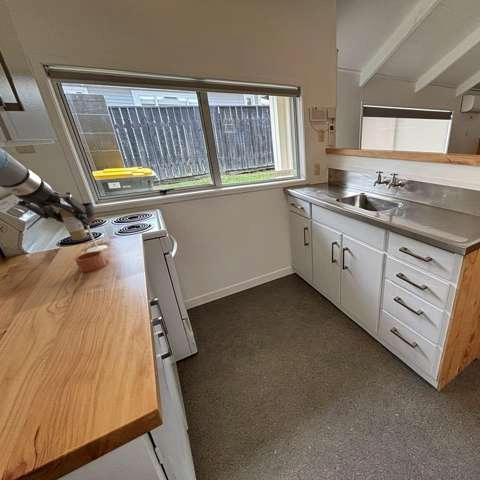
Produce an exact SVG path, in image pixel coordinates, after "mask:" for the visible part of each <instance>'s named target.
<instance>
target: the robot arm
mask: <svg viewBox="0 0 480 480" xmlns="http://www.w3.org/2000/svg"><path fill="white" fill-rule="evenodd" d="M0 187H1V188H2V189H4V190H6V191H7V192H9V193H10V194H11V195H13V196H15V197H17V198H18V200H17V205H18V206H20V207H22V208H25V209H28V210H29V211H31V212H33V213H34V214H36V215H38V216H40V217H42V218H43V219H46V220H47V219H49V218H51V219H52V220H53V219H55V220H56V221H58V222H60V223H62V224H64V221H63V219H62V217H61V214H60V212H59V211H58V210H57V208H59V207H60V208H62V209H64V210H66V211H68V212H70V213H72V214H74V215H75V218H77V219H78V220H80V221H81V222H83V223H84V224H85V225H84V226H86V225H89V226H90V224H89V220H90V219H89V218H88V217H87V215H86V214H85V209H86V208H85V207H84V206H83V205H82V204H83V203H81V202H80V201H78V200H77V199H76V198H75V197H74V196H73V193H71V192H66V193H65V194H64V193H60V192H58V191H56V190H54V189H53V188H52V187H51V186H50V185H49V184H48V183H47V182H46V181H44V180H43V179H42V178H40V177H39V176H38V175H37V174H35V173H34V172H33V171H31V170H30V169H29V168H27V166H24V165H23V164H21V163H20V162H19V161H18V160H17V159H16V158H15V157H13V156H12V155H10V154H9V153H8V152H7V151H6V150H5V149H3V148H2V147H0ZM56 207H57V208H56Z"/></svg>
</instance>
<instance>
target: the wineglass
mask: <svg viewBox="0 0 480 480" xmlns="http://www.w3.org/2000/svg"><path fill="white" fill-rule="evenodd" d="M81 204H82V205H83V206H84V207H85V208H86V209H85V214H86V215H87V217H88V218H89V219H90V220H89V225H85V224H84V223H83V222H82V224H83V226H86V228H87V231H88V233H89V236H90V238H91V240H92V243H93V245H94V247H93V246H92V247H90V248H88V249H87V250H86V253H89V252H94V251H100V252H101V251H103V250H105V249H107V248H108V245H106V244H103V245H98V244H97V242H96V239H95V237H94V235H93V233H92V231H91V228H90V224H92V223H93V222H94V221H95V219H96V213H95V209H94V206H93V203H91V202H84V203H81Z"/></svg>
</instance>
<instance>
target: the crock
mask: <svg viewBox="0 0 480 480" xmlns="http://www.w3.org/2000/svg"><path fill="white" fill-rule="evenodd" d="M74 261H75V263H76V266H77V268H78V270H79V272H80V273H90V272H95V271H98V270H101V269H102V268H104V267H105V266H106V265H107V262H106V260H105V257H104V255H103V252H102V251H101V250H100V251H94V252H85V253H82V254H79V255H78V256H76V257H75V258H74Z"/></svg>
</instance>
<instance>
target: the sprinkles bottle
mask: <svg viewBox="0 0 480 480" xmlns="http://www.w3.org/2000/svg"><path fill="white" fill-rule="evenodd" d="M55 209H56V210H57V211H58V212H60V214H61V217H62V219H63V221H64V223H63V224H64V226H65V229H66V230H67V232H68V234H69V236H70V239H71V240H72V241H78V240H83V239H85V238H87V237H88V234H87V233H86V230H85V226H84V225H83V224H82V222H81V221H80V220H78V219H77V218H75V215H74V214H72V213H70V212H68V211H66V210H64V209H62V208H60V207H59V208H57V207H55Z"/></svg>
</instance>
